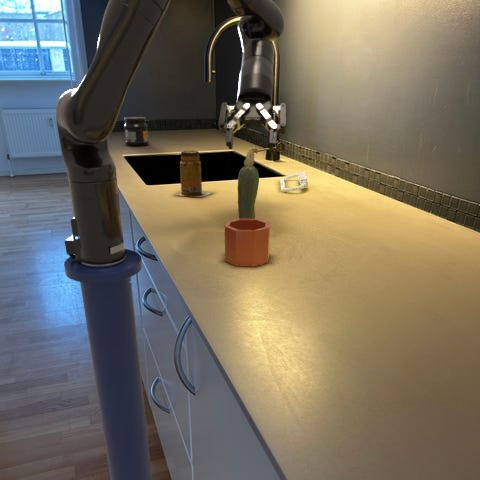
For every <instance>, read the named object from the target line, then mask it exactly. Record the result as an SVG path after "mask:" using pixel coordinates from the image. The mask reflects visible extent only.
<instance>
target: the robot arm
mask: <svg viewBox="0 0 480 480" xmlns="http://www.w3.org/2000/svg"><path fill="white" fill-rule="evenodd" d="M171 1H172V0H108V3H107V6H106V8H105V10H104V14H103V18H102V21H101V26H100V32H99V37H98V41H97V47H96V51H95V54H94V57H93V59H92V62H91V64H90V66H89V68H88V70H87V72H86V73H85V76H84V77H83V79H82V81H81V83H80V84H79V86H78V87H77V88H73V89H69V90H67V91H65V92H64V93H62V94H61V96H60V97H59V98H58V100H57V102H56V106H55V121H56V127H57V134H58V139H59V140H58V141H59V145H60V151H61V156H62V161H63V164H64V167H65V170H66V173H67V179H68V185H69V192H70V199H71V206H72V213H73V217H72V218H71V219H70V227H71V233H72V234H71V235H70V236H68V237H67V238H66V239H65V240H64V247H65V251H66V252H65V254H66V255H68V256H69V257H71V258H72V259H74V258H75V254H76V260H77V264H78V265H83V266H86V267H91V268H106V267H112V266H116V265H119V264H121V263H123V262H124V261H125V260H126V255H125V249H126V248H125V242H124V232H123V223H122V213H121V205H120V196H119V187H118V186H119V185H118V177H117V169H116V164H115V162H114V160H113V157H112V155H111V153H110V148H109V143H108V137H110V135H111V134H112V132H113V130H114V128H115V126H116V123H117V122H118V121H117V120H118V118H119V115H120V112H121V109H122V106H123V103H124V102H125V101H124V100H125V98H126V96H127V92H128V89H129V87H130V84H131V82H132V80H133V79H134V76H135V74H136V72H137V70H138V69H139V67H140V65H141V64H142V61H143V59H144V57H145V55H146V53H147V52H148V49H149V47H150V45H151V43H152V41H153V40H154V37H155V36H156V34H157V32H158V29H159V27H160V25H161V23H162V22H163V20H164V17H165V15H166V13H167V10H168V8H169V5H170V3H171ZM226 2H227V3H228V5H229V7H230V8H231V10H232V11H233V13H234V14H235V15H237V16H238V17H240V18H239V21H238V22H237V31H238V36H239V40H240V43H241V48H242V60H241V68H240V71H239V77H238V86H237V87H238V89H237V97H236V98H237V99H236V103H235V104H234V105H228V102H225V101H224V102H222V103H221V106H220V111H219V112H220V113H219V116H218V117H219V118H218V129H219V133H221V134H223V133H225V146H226V147H228V150H233V147H234V139H235V138H234V137H235V135H234V134H235V133H236V132H237V131H240V130H241V129H242V128H243V127H244V126H245V127H261V126H263V128H264V129H265V130H266V131H268V132H269V140H268V150H269V151H273V149H274V148H276V147H277V142H278V141H277V140H278V139H277V138H278V135H280V134H282V135H284V134H286V132H287V104H286V103H285V102H281V103H280V105H273V93H274V92H273V91H274V86H275V83H274V77H275V74H274V66H275V65H274V64H275V63H274V62H275V48H274V46H273V44H272V41H276V40H278V39H280V38H281V37H282V36H283V34H284V33H285V27H286V22H285V17H284V15H283V12H282V10H281V9H280V8H279V6H278V5H277V4H276V3H275V1H274V0H226ZM232 113H234V115H233V116H232ZM274 114H275V115H276V117H278V119H279V123H278V124H277V123H276V122H275V121H274V119H273V118H272V117H273V115H274ZM231 116H232V119H231V120H230V121H229V122H228V118H230V117H231Z"/></svg>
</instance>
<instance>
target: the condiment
mask: <svg viewBox="0 0 480 480" xmlns="http://www.w3.org/2000/svg"><path fill="white" fill-rule="evenodd" d="M179 173H180V190H181V192H179V193H175V196H182V197H192V198H204V197H207V196H209V195H211V194H213V192H211V191H204V190H203V187H202V186H203V184H202V183H203V182H202V162H201V159H200V152H199V151H197V150H182V151H181V152H180V162H179Z"/></svg>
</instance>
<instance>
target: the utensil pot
mask: <svg viewBox="0 0 480 480" xmlns="http://www.w3.org/2000/svg"><path fill="white" fill-rule="evenodd" d="M270 232H271V222H269V221H266V220H262V219H260V218H255V219H245V218H240V219H239V218H237V219H232V220H231V219H230V220H227V221H226V223H225V225H224V262H227V263H229V264H231V265H233V266H235V267H254V268H255V267H258V266H261V265H264V264H268V263H269V259H270V238H271V237H270V236H271V235H270V234H271V233H270Z"/></svg>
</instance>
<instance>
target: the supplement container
mask: <svg viewBox="0 0 480 480" xmlns="http://www.w3.org/2000/svg"><path fill="white" fill-rule="evenodd" d="M146 122H147V118H146V117H145V116H126V117H124V123H125V124H123V125H124V126H123V129H124V137H125V145H127V146H128V147H134V148H135V147H137V148H138V147H146V146H148V145H149V144H150V143H149V142H150V141H149V133H148V132H149V131H148V124H147V123H146Z"/></svg>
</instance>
